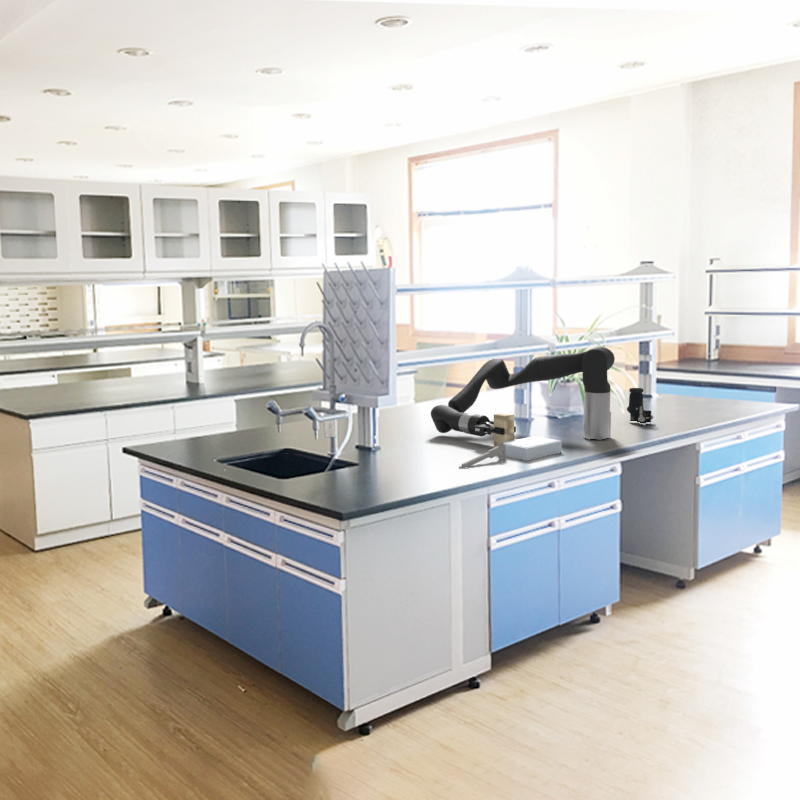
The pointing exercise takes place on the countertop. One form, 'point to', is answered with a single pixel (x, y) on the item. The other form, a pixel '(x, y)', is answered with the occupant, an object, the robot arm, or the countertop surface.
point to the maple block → (504, 422)
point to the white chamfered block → (532, 447)
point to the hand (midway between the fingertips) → (509, 430)
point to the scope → (638, 407)
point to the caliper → (488, 455)
